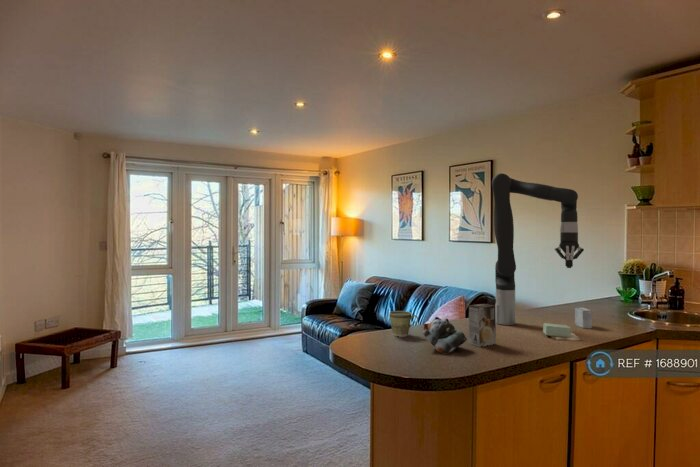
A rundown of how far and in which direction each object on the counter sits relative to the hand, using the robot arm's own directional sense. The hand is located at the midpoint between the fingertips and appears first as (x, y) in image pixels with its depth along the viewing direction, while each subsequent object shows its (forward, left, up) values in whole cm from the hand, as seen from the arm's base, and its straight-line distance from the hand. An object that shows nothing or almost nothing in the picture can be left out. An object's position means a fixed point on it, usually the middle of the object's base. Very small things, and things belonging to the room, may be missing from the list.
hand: (569, 267), depth 206 cm
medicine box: (+8, +6, -29) cm, 31 cm away
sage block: (-15, -18, -26) cm, 35 cm away
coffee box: (-43, -38, -29) cm, 64 cm away
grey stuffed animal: (-58, -50, -29) cm, 82 cm away
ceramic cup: (-76, -30, -29) cm, 87 cm away
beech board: (-7, -18, -29) cm, 35 cm away
